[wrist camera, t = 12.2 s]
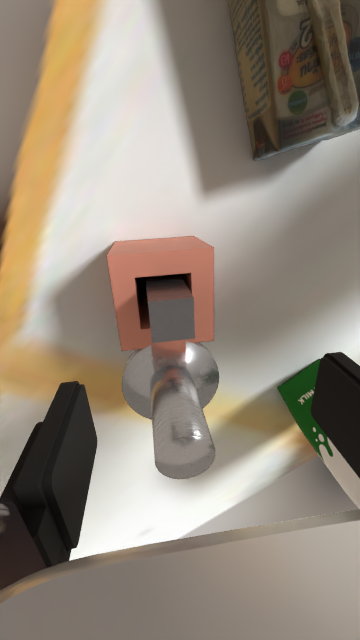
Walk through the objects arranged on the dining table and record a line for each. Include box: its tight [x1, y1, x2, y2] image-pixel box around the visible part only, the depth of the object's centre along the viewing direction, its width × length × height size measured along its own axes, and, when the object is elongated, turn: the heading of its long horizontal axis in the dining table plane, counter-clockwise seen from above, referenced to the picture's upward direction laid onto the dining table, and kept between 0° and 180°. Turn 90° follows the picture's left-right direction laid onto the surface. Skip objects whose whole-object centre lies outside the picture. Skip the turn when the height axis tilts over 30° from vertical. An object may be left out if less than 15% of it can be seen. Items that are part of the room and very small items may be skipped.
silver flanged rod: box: [122, 341, 219, 479], centre depth 25 cm, size 9×9×16 cm
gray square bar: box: [145, 274, 195, 343], centre depth 24 cm, size 3×3×12 cm
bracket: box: [107, 236, 214, 369], centre depth 26 cm, size 8×11×8 cm
